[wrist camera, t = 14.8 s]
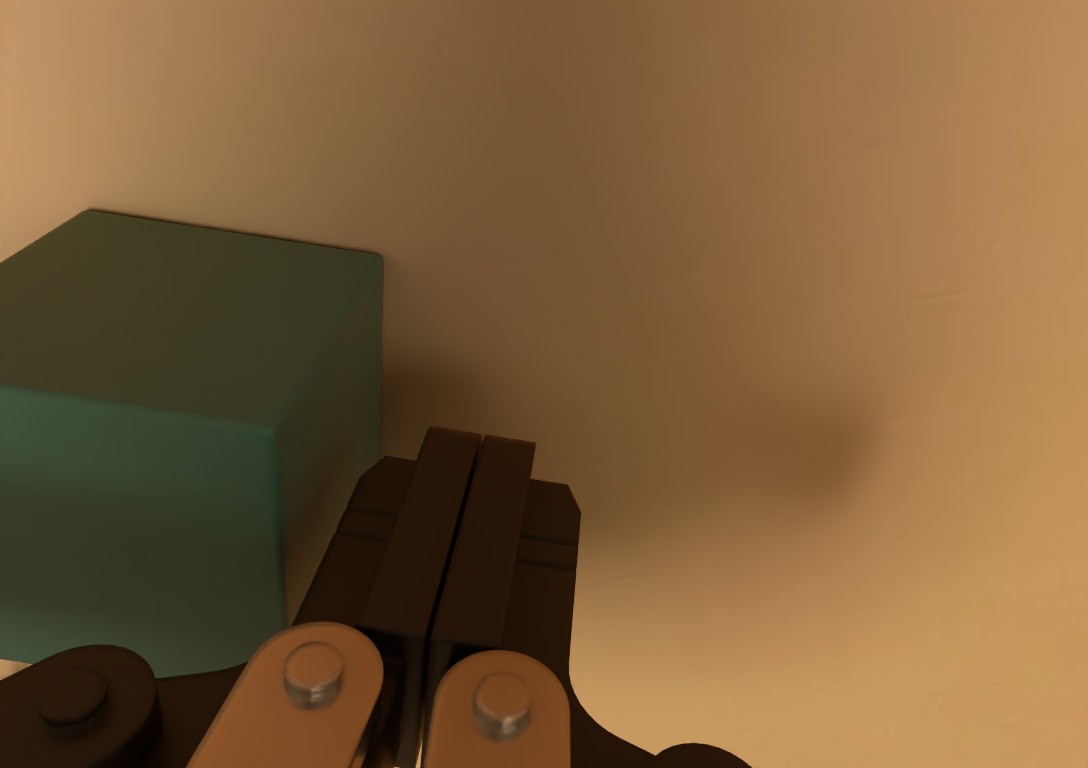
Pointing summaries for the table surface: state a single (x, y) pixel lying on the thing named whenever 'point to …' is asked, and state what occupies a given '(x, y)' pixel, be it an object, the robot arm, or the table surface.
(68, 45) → the table surface
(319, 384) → the teal block
